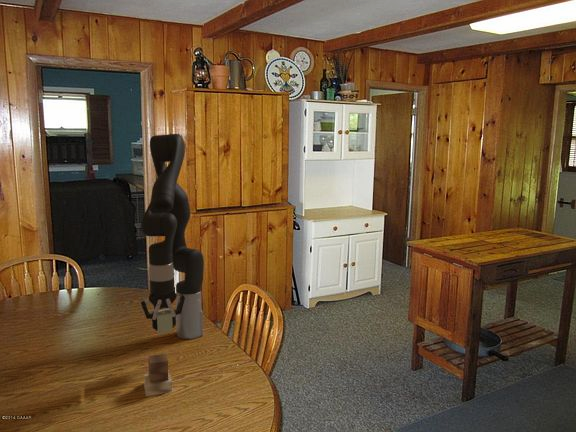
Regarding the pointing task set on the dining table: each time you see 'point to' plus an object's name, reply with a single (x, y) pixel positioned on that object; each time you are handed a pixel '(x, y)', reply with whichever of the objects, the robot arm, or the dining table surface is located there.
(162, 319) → the sage block
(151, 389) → the maple slab
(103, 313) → the dining table surface
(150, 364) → the walnut block
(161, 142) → the robot arm
